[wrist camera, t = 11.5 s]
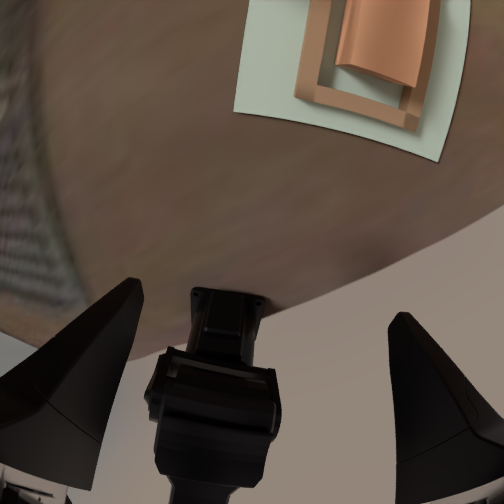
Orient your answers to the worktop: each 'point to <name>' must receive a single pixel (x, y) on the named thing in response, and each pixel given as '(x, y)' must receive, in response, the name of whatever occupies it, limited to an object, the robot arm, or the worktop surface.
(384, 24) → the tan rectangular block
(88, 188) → the worktop surface
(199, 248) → the worktop surface
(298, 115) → the mat
